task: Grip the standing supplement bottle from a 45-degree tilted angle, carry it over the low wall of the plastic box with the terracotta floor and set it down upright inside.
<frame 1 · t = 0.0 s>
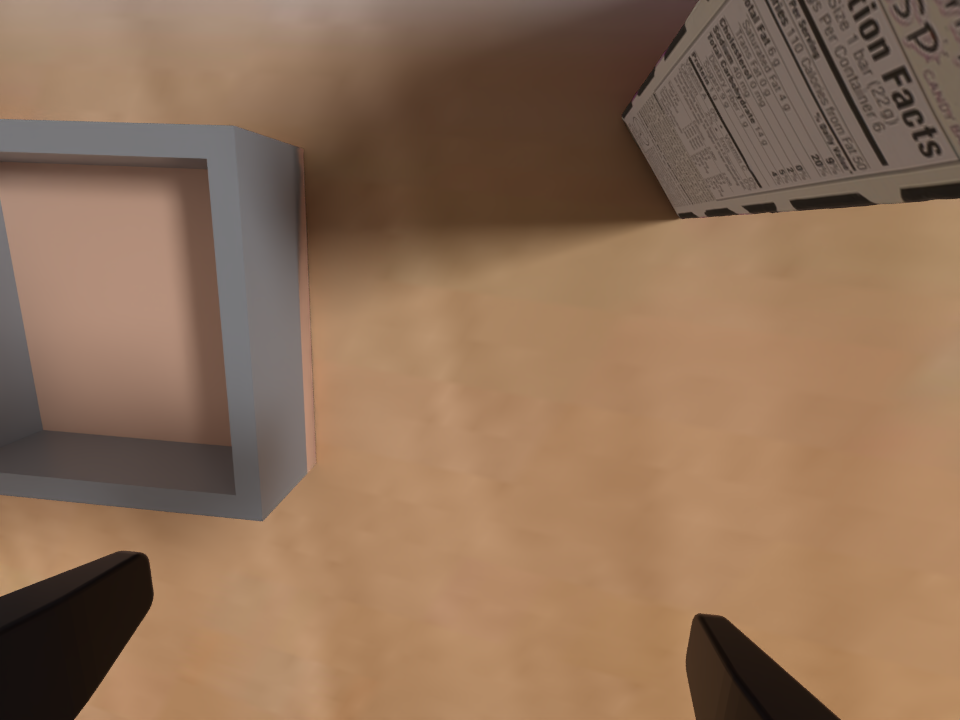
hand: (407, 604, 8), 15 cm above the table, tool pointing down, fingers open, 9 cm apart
walled box: (161, 309, 23), on the table
candy bar box: (777, 77, 19), on the table
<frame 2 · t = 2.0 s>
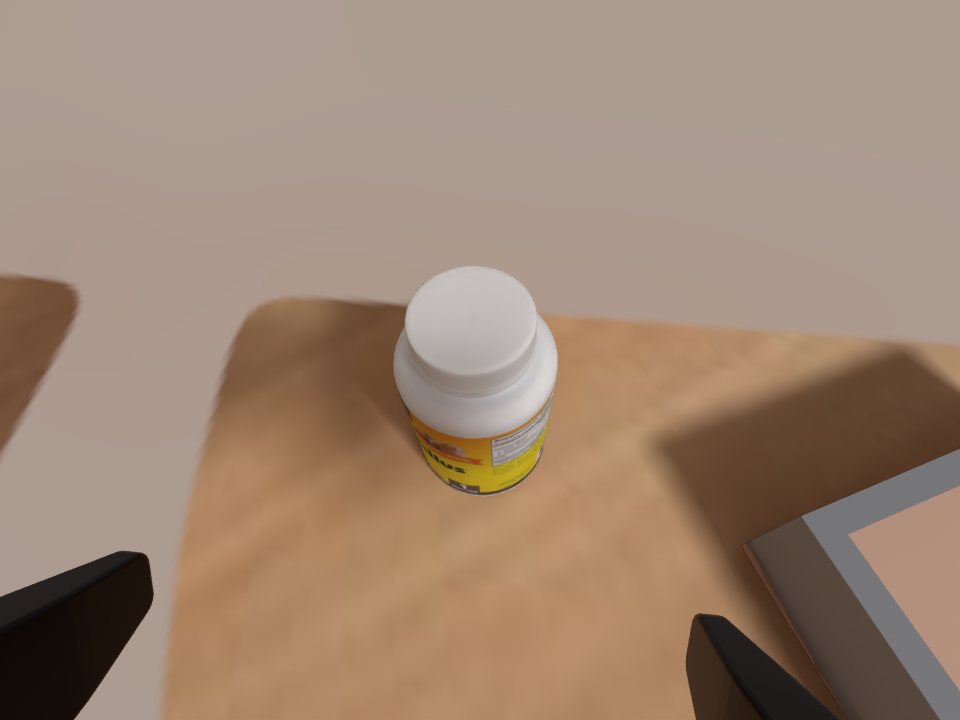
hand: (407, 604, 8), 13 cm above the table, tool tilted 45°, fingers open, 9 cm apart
supplement bottle: (483, 443, 24), on the table
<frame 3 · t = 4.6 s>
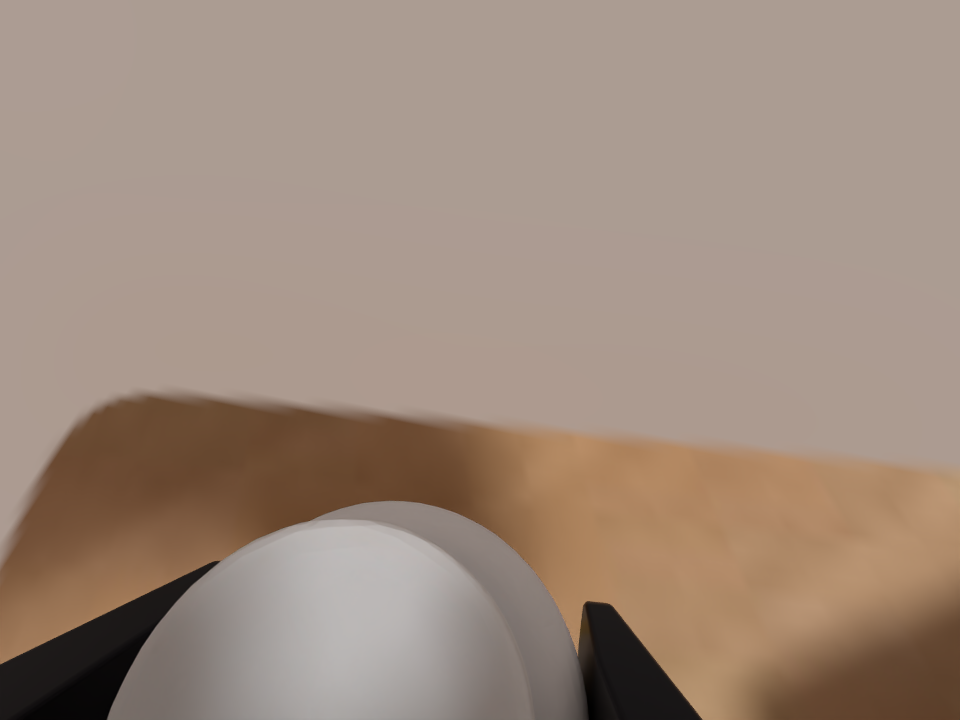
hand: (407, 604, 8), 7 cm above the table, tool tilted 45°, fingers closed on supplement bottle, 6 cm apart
supplement bottle: (441, 687, 14), on the table, touching gripper
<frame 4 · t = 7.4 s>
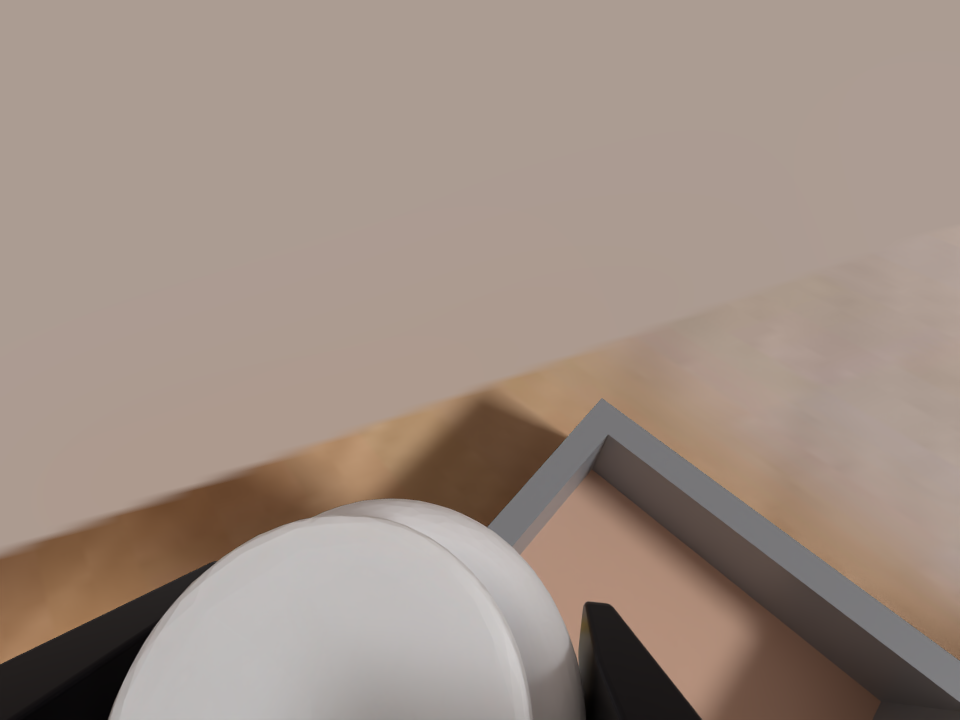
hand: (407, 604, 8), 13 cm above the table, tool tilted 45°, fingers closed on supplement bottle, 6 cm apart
walled box: (622, 709, 18), on the table
supplement bottle: (440, 684, 14), point 6 cm above the table, touching gripper
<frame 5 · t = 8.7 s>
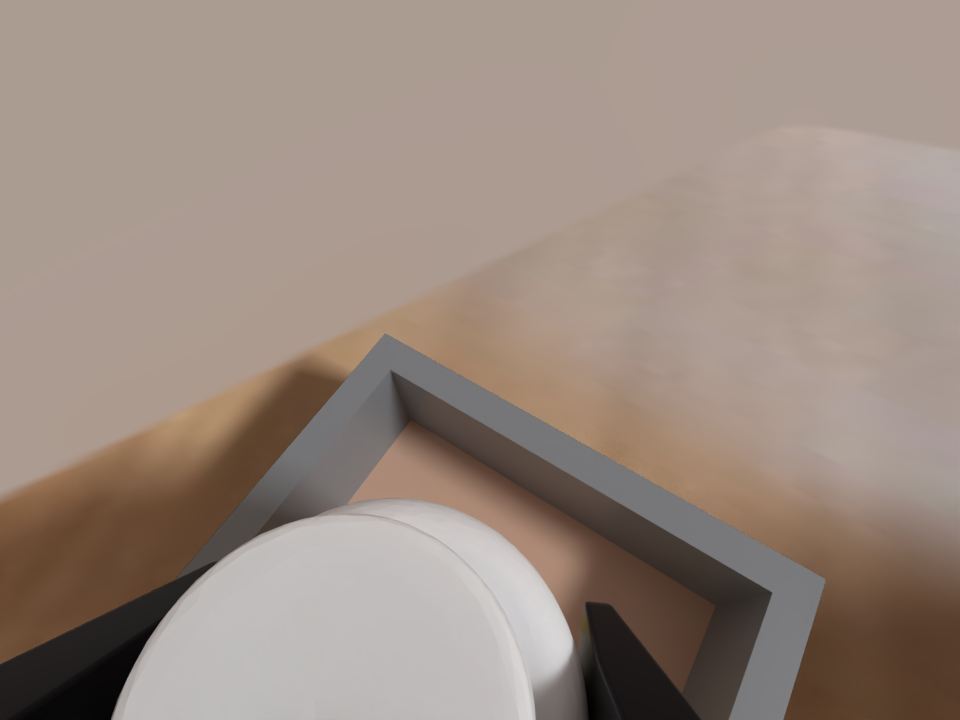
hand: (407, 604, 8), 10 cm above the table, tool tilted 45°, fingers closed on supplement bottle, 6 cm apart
walled box: (454, 670, 17), on the table
supplement bottle: (441, 684, 14), point 3 cm above the table, touching gripper
when the fingers open (9 cm above the table, at t = 9.8 s): supplement bottle drops 1 cm, resting on walled box.
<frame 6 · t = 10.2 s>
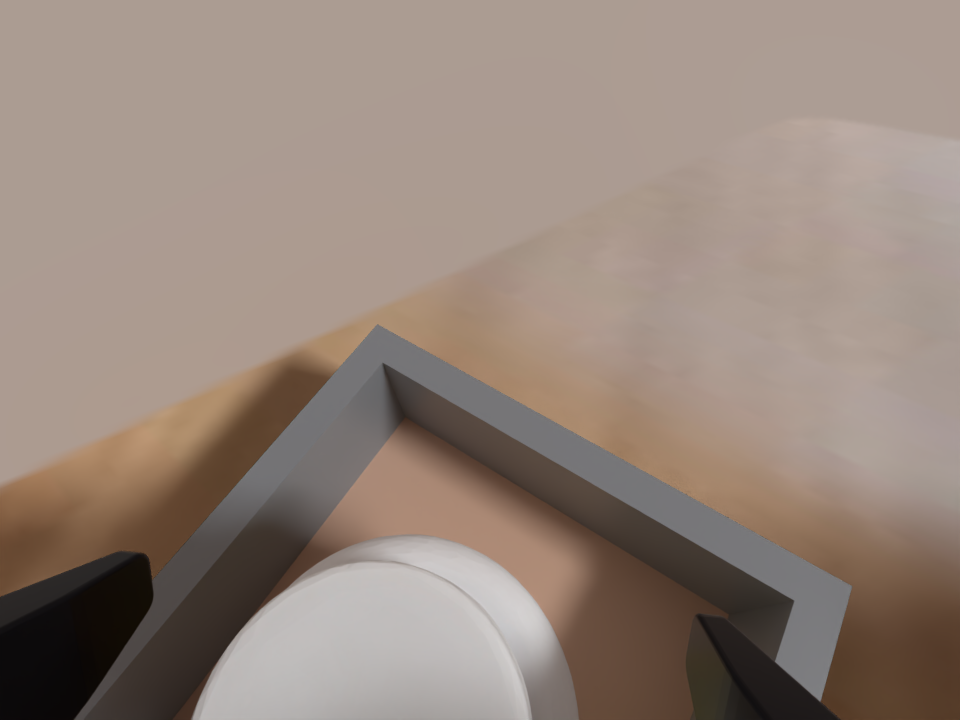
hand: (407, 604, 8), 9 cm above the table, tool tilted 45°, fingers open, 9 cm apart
walled box: (449, 684, 15), on the table
supplement bottle: (447, 692, 15), point 1 cm above the table, touching walled box
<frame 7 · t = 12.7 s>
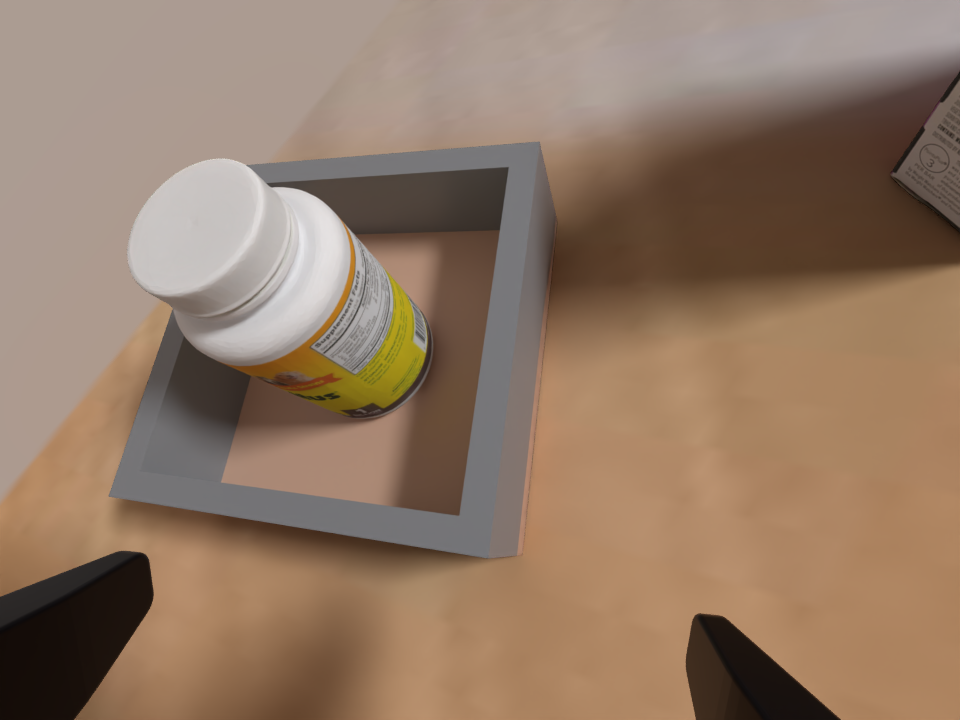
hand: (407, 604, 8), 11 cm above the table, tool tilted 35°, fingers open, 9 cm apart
walled box: (385, 363, 23), on the table
supplement bottle: (379, 360, 22), point 1 cm above the table, touching walled box
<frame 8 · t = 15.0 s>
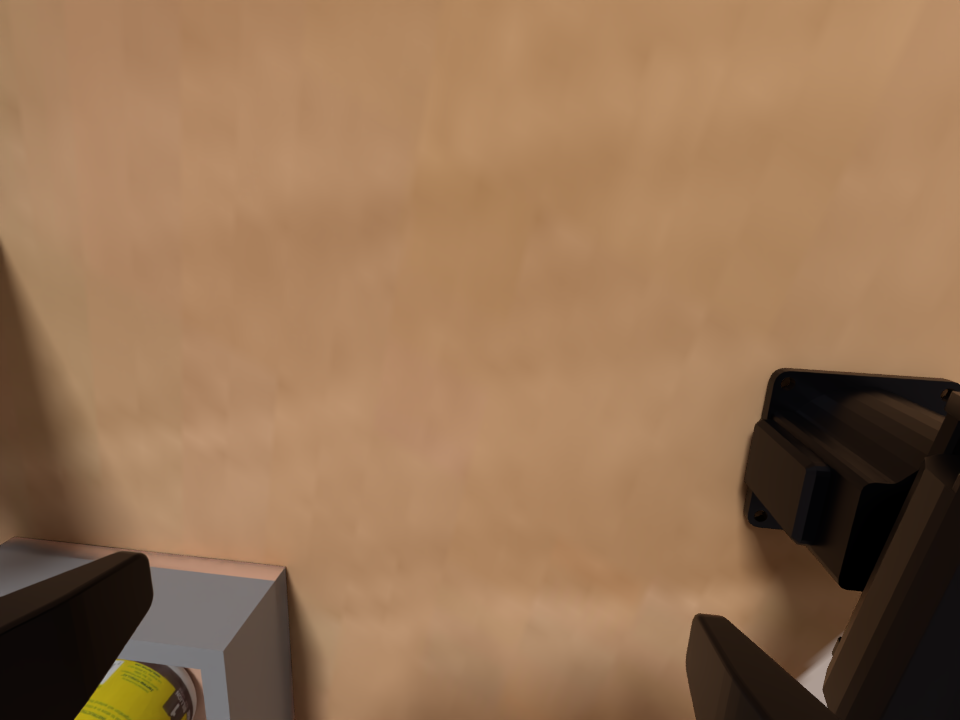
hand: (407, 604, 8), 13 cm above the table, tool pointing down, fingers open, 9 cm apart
walled box: (162, 669, 27), on the table
supplement bottle: (153, 680, 26), point 1 cm above the table, touching walled box
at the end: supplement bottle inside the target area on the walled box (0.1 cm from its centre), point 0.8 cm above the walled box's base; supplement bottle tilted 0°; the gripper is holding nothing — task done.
